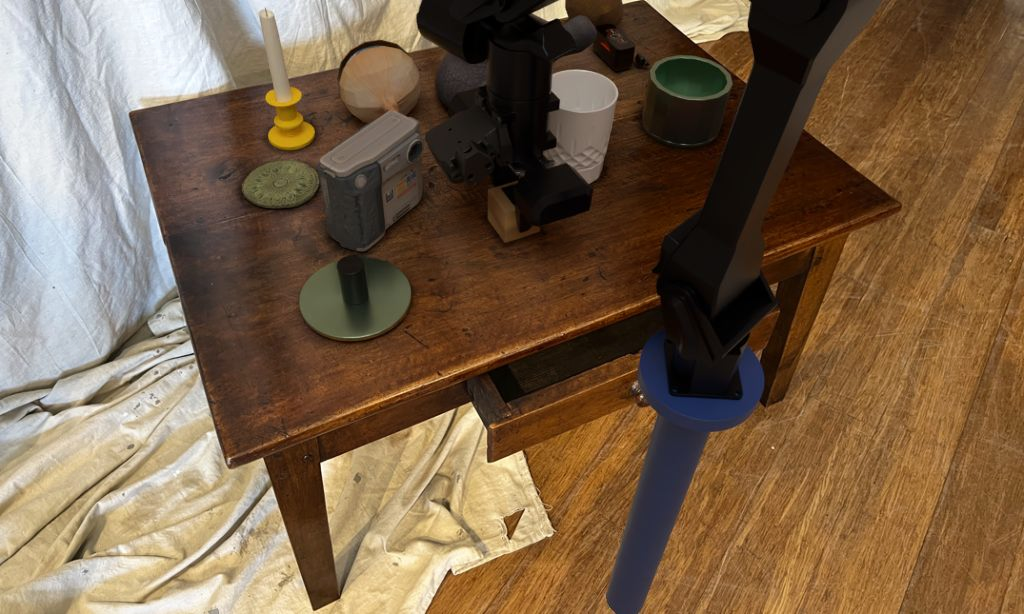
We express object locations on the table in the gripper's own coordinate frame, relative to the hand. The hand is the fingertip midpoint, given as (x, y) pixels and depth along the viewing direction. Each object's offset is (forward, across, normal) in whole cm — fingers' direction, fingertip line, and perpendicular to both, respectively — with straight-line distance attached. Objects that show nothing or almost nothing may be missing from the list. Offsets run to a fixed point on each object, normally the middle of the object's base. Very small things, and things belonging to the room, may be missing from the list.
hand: (513, 218), depth 81 cm
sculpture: (+1, -23, -5) cm, 23 cm away
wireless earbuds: (+1, -22, +27) cm, 35 cm away
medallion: (+1, -16, -20) cm, 25 cm away
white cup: (+1, -6, +10) cm, 12 cm away
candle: (+1, -24, -16) cm, 29 cm away
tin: (+1, -7, +26) cm, 27 cm away
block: (+1, 0, 0) cm, 1 cm away
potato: (-4, -30, +32) cm, 44 cm away
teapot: (+1, -20, +11) cm, 23 cm away
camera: (+1, -7, -12) cm, 14 cm away
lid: (0, +3, -18) cm, 18 cm away
